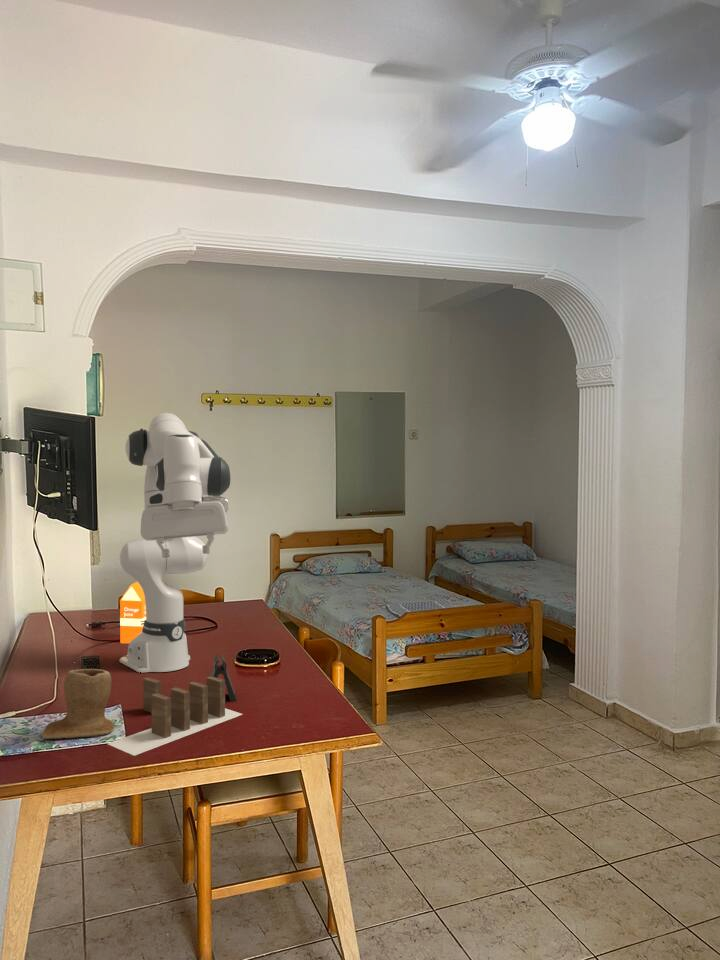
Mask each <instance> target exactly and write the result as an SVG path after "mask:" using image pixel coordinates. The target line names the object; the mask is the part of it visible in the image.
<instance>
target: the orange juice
mask: <svg viewBox="0 0 720 960" xmlns="http://www.w3.org/2000/svg"><path fill="white" fill-rule="evenodd" d="M119 605H120V606H119V607H120V608H119V610H120V611H119V612H120V614H119V621H120V622H119V625H120V629H119V630H120V631H119V632H120V633H119V635H120V639H119V640H120V644H129V643H130V641H131V640H133V639H134V638H135V637H136V636H138V635H139V634H140V633H141V632H142V629H143V625H144V624H143V625H141V624H142V623H144V622H141V621H144V620H146V605H145V597H144V593H143V590H142V588H141V586H140V585H139V583H138V582H137V581H135V582H134V583H132V584H130V586H129V587H128V589H127V590H126V591H125V593H124V594H123V596H122V597H121V599H120V600H119Z"/></svg>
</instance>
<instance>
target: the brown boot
mask: <svg viewBox="0 0 720 960" xmlns="http://www.w3.org/2000/svg"><path fill="white" fill-rule="evenodd" d="M111 691H112V675H111V673H110V672H109V671H108V670H106V669H105V670H104V669H99V668H83V669H72V670H69V671H68V672H67V673H66V676H65V679H64V684H63V692H64V698H65V700H64V701H65V705H66V714H65V717H64V718H62V719H59V720H54V721H51V722H49V723H47V724H46V726H45V727H44V729H43V731H42V740H61V739H62V738H65V739H76V737H80V738H90V737H89V736H92V737H100V736H105V735H104V734H106V735H109V734H110V732H111V733H112V732H113V731H114V729H115V723H114V722H113V721H112V720H110V719H108V718H106V717H105V716H106V715H105V714H106V713H105V712H106V707H107V704H108V702H109V699H110V695H111ZM108 733H109V734H108ZM99 735H100V736H99ZM62 740H63V739H62Z"/></svg>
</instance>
